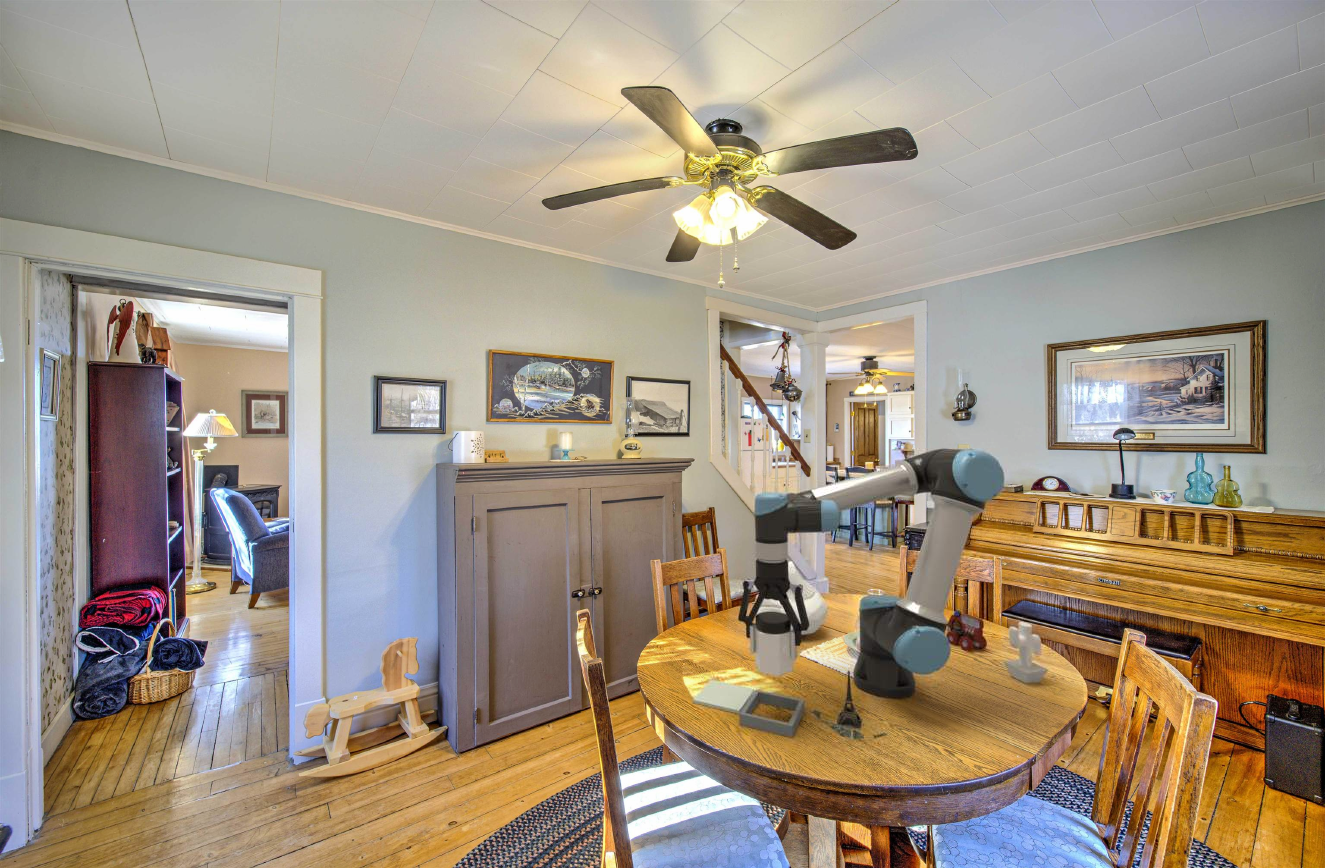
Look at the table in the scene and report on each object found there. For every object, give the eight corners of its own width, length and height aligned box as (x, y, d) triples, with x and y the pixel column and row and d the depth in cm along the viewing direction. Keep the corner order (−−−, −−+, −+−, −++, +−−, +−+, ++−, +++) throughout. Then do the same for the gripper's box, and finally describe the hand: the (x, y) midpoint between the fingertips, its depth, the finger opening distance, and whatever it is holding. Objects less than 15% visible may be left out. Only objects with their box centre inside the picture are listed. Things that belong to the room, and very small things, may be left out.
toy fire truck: (958, 637, 172) (957, 605, 172) (991, 652, 161) (991, 618, 161) (940, 640, 170) (940, 607, 170) (973, 655, 159) (973, 620, 159)
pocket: (804, 710, 127) (804, 699, 127) (792, 737, 115) (792, 726, 115) (756, 699, 132) (755, 689, 132) (739, 724, 121) (739, 713, 121)
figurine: (1052, 682, 140) (1051, 626, 141) (1024, 687, 138) (1024, 629, 138) (1026, 671, 147) (1025, 617, 148) (1000, 675, 145) (999, 620, 145)
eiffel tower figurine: (808, 713, 127) (808, 657, 127) (842, 705, 131) (842, 650, 131) (851, 747, 113) (851, 684, 113) (888, 737, 117) (888, 676, 117)
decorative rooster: (817, 603, 187) (772, 549, 187) (843, 608, 172) (795, 549, 172) (770, 655, 179) (723, 599, 179) (793, 665, 164) (742, 604, 164)
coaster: (754, 692, 136) (754, 689, 136) (739, 714, 126) (739, 710, 126) (710, 682, 142) (710, 679, 142) (692, 702, 131) (692, 699, 131)
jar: (772, 679, 118) (771, 626, 118) (747, 667, 125) (746, 616, 125) (800, 669, 123) (799, 617, 123) (775, 657, 130) (774, 608, 130)
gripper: (822, 559, 123) (824, 657, 123) (732, 552, 132) (734, 642, 132) (816, 567, 116) (818, 670, 116) (722, 558, 126) (724, 653, 126)
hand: (773, 655), depth 124 cm, fingers closed on jar, 9 cm apart
